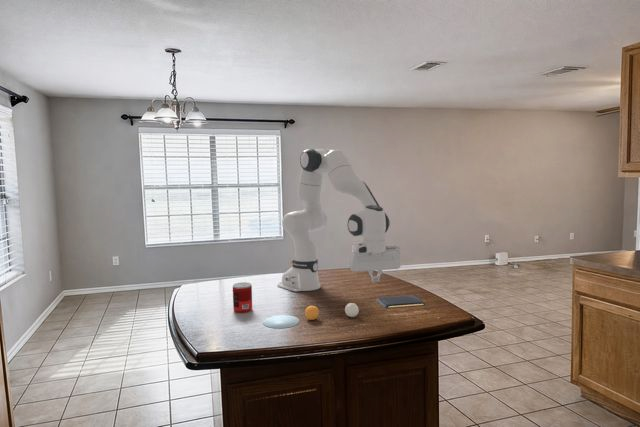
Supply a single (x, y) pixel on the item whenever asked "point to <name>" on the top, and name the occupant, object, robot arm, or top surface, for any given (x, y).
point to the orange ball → (311, 312)
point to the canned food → (242, 297)
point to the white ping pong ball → (351, 309)
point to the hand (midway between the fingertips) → (375, 281)
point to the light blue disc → (281, 321)
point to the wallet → (400, 301)
